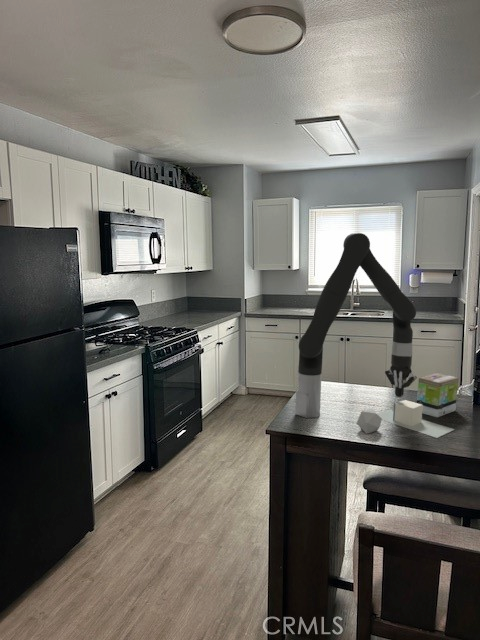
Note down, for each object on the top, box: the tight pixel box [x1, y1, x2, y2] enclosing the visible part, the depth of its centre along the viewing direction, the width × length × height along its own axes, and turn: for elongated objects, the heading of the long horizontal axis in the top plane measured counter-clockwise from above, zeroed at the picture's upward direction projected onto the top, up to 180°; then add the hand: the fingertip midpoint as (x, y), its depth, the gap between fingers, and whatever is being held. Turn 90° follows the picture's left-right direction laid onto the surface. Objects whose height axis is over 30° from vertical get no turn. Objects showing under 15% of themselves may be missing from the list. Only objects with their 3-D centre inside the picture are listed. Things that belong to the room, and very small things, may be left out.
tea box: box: [416, 372, 459, 418], centre depth 192 cm, size 15×10×15 cm
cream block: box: [393, 399, 423, 426], centre depth 180 cm, size 7×7×8 cm
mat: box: [376, 409, 456, 439], centre depth 179 cm, size 13×28×1 cm, turn 39°
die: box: [356, 408, 383, 435], centre depth 170 cm, size 8×9×10 cm
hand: (399, 396), depth 182 cm, fingers closed
